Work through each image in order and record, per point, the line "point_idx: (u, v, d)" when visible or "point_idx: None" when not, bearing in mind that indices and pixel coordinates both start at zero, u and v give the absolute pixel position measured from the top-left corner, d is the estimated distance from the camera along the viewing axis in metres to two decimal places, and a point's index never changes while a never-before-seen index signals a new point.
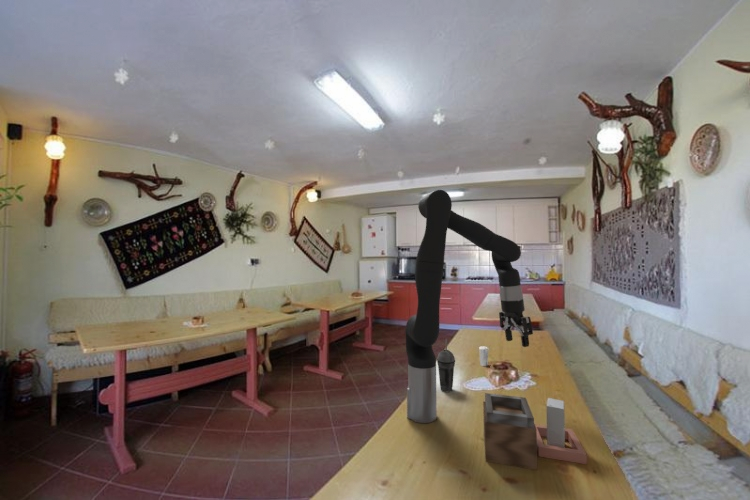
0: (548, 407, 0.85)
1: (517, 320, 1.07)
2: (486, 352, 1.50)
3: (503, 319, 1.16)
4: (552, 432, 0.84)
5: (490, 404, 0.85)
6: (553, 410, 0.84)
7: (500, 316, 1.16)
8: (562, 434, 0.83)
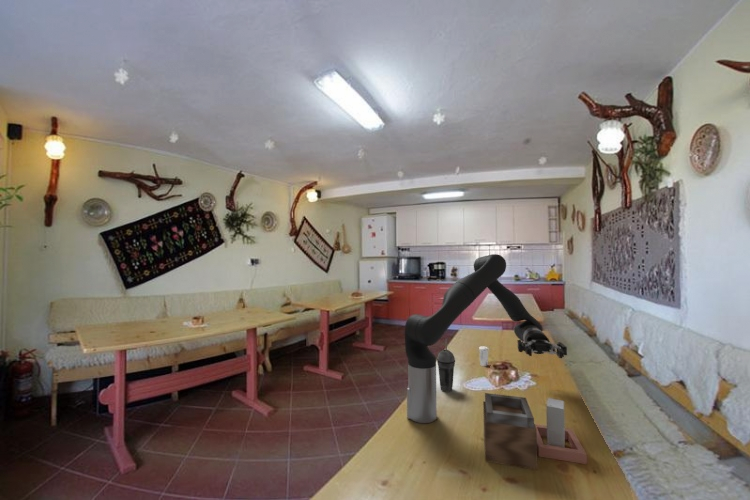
0: (548, 407, 0.85)
1: (550, 343, 1.05)
2: (486, 352, 1.50)
3: (521, 344, 1.06)
4: (551, 432, 0.84)
5: (490, 404, 0.85)
6: (553, 410, 0.84)
7: (519, 341, 1.07)
8: (562, 434, 0.83)
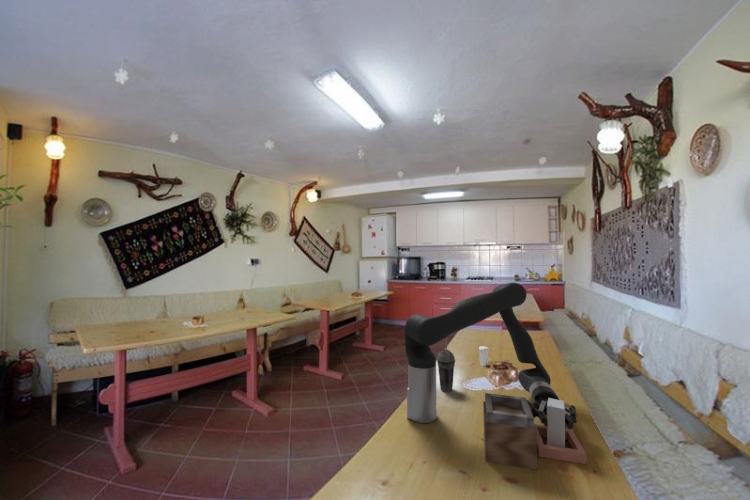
0: (548, 407, 0.85)
1: None
2: (486, 352, 1.50)
3: None
4: (552, 432, 0.84)
5: (490, 404, 0.85)
6: (553, 410, 0.84)
7: (528, 402, 0.94)
8: (562, 434, 0.83)
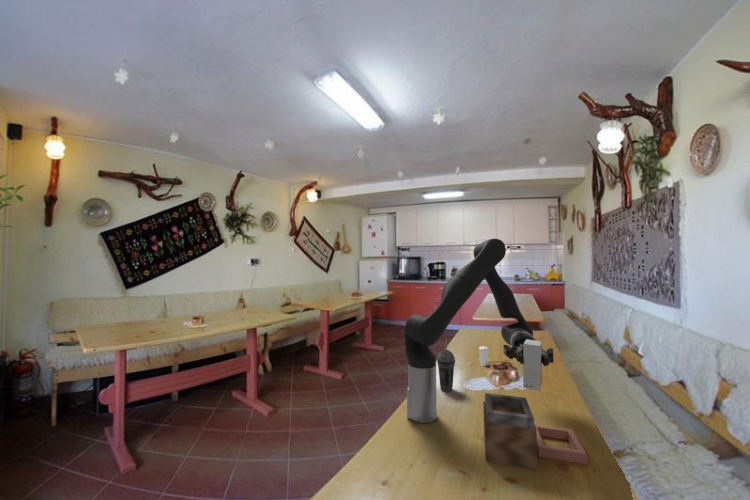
0: (525, 345, 0.84)
1: None
2: (486, 352, 1.50)
3: None
4: (528, 369, 0.84)
5: (490, 404, 0.85)
6: (529, 347, 0.84)
7: (506, 346, 0.93)
8: (538, 371, 0.82)
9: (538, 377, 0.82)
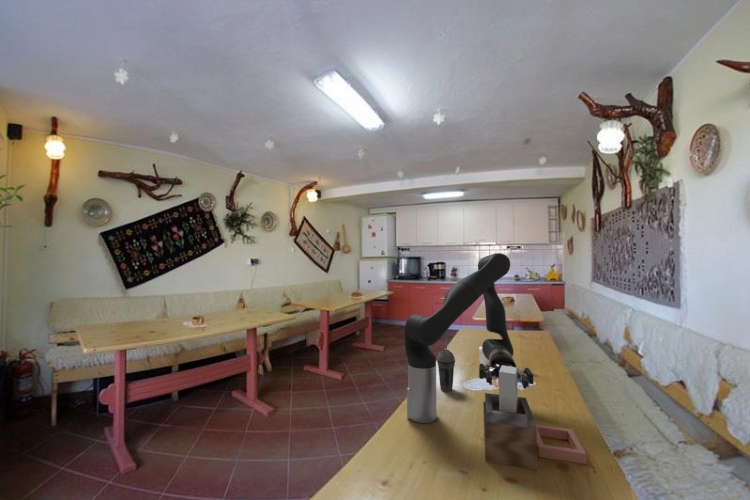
0: (500, 373, 0.83)
1: None
2: None
3: (483, 369, 0.92)
4: (504, 398, 0.82)
5: (490, 404, 0.85)
6: (505, 375, 0.82)
7: (481, 365, 0.93)
8: (514, 399, 0.81)
9: (514, 406, 0.81)
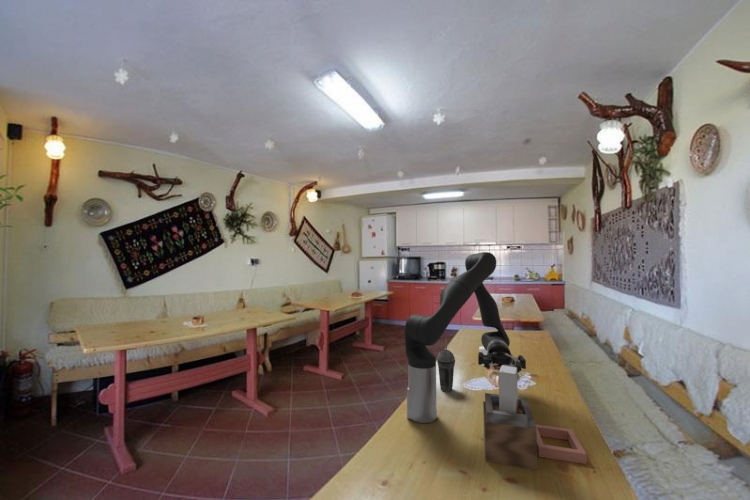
0: (500, 373, 0.83)
1: (510, 356, 1.02)
2: (486, 352, 1.50)
3: (482, 357, 1.04)
4: (504, 398, 0.82)
5: (490, 404, 0.85)
6: (505, 375, 0.82)
7: (480, 353, 1.05)
8: (514, 399, 0.81)
9: (514, 406, 0.81)
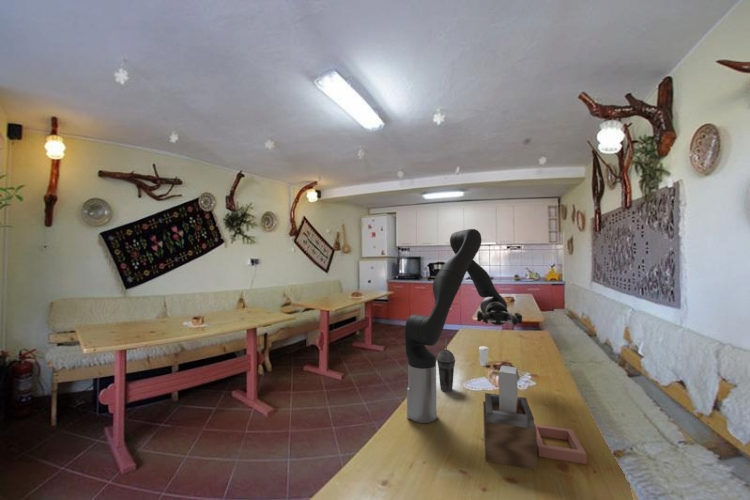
0: (500, 373, 0.83)
1: None
2: (486, 352, 1.50)
3: (481, 315, 1.09)
4: (504, 398, 0.82)
5: (490, 404, 0.85)
6: (505, 375, 0.82)
7: (479, 312, 1.11)
8: (514, 399, 0.81)
9: (514, 406, 0.81)
